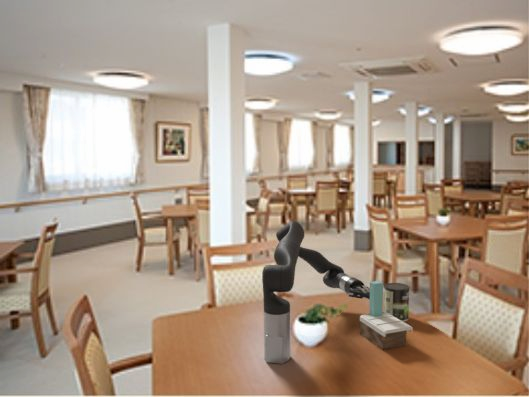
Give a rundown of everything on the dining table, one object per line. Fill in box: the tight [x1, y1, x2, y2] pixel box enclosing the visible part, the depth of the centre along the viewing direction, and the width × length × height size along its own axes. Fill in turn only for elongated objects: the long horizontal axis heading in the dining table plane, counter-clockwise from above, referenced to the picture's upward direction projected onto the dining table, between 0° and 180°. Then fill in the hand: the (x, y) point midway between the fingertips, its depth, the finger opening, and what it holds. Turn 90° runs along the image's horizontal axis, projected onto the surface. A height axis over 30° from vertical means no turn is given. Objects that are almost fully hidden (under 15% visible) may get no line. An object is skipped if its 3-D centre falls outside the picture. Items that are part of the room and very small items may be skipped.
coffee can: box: [383, 282, 410, 323], centre depth 198 cm, size 10×10×14 cm
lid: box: [359, 280, 414, 337], centre depth 173 cm, size 17×12×15 cm
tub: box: [359, 320, 408, 351], centre depth 176 cm, size 16×10×7 cm, turn 19°
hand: (373, 298), depth 180 cm, fingers closed
